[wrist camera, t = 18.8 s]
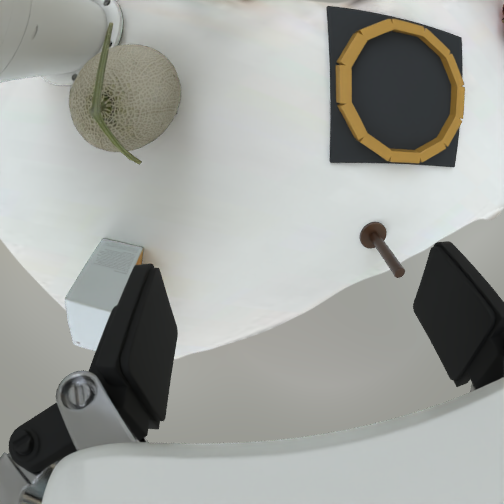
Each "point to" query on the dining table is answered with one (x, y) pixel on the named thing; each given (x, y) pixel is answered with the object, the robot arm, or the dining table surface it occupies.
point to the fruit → (124, 97)
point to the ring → (351, 114)
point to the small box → (99, 290)
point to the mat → (391, 89)
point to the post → (380, 246)
